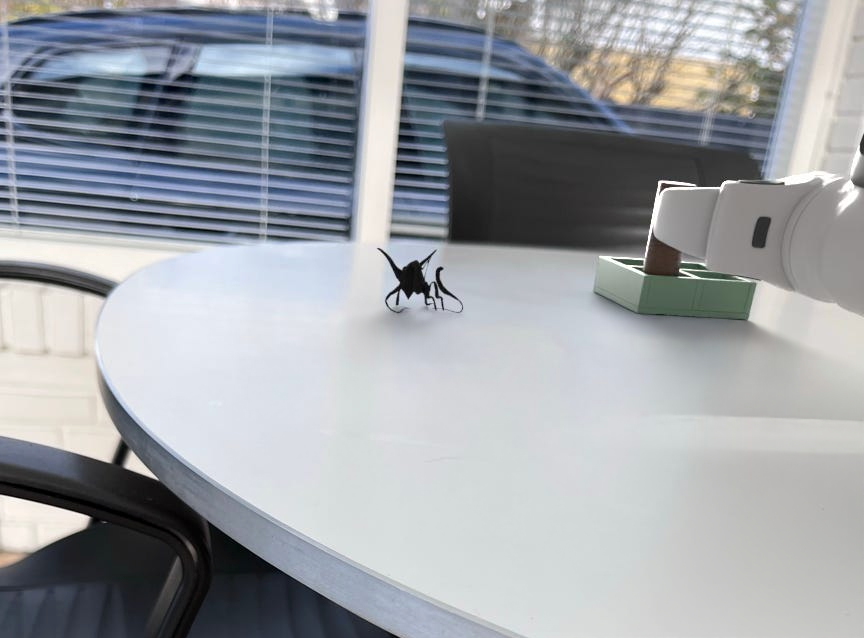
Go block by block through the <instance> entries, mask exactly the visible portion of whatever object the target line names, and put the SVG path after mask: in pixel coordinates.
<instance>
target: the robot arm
mask: <svg viewBox="0 0 864 638" xmlns="http://www.w3.org/2000/svg"><path fill="white" fill-rule="evenodd" d="M653 232H654V235H655V237H656V238H657V239H658V240H660V241H662V242H663V243H665V244H667V245H669V246H671V247H673V248H675V249H677V250H679V251H681V252H683V254H686V255H689V256H691V257H695V258H698V259H701V260H704V264H705V268H706V269H708V270H710V271H712V272H716V273H722V274H725V275H730V276H737V277H742V278H745V279H748V280H753V281H754V280H755V281H758V282H762V281H763V282H766V283H767V284H769V285H771V286H774V287H775V288H778V289H781V290H784V291H787V292H793V293H794V294H797V295H802V296H804V297H807V298H809V299H811V300H814V301H818V302H821V303H827V304H836V305H837V306H838V307H840V308H841V309H842V310H844V311H847V312H849V313H852V314H854V315H857V316H860V317H863V318H864V133H863V134H862V136H861V139H860V142H859V145H858V147H857V150H856V153H855V156H854V158H853V162H852V165H851V169H850V173H847V172H846V173H845V172H839V171H835V170H834V171H833V170H817V171H812V172H809V173H806V174H805V173H804V174H797V175H791V176H787V177H783V178H779V179H761V180H759V179H757V180H756V179H753V180H752V179H751V180H750V179H749V180H747V179H739V180H726V181H724V182H722V184H721V186H720V187H719V186H717V187H714V186H713V187H712V186H711V187H697V188H669V189H665V190H664V191H663V192H662V193H661V194H660V197H659V200H658V203H657V208H656V213H655V219H654V227H653Z"/></svg>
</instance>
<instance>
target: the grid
mask: <svg viewBox="0 0 864 638" xmlns="http://www.w3.org/2000/svg"><path fill="white" fill-rule="evenodd" d="M644 259H645V258H634V257H633V258H632V257H619V256H604V255H599V256H598V259H597V266H596V271H595V277H594V283H593V289H592V291H593V292H594V293H596V294H598V295H600V296H602V297H605V298H606V299H608V300H610V301H612V302H614V303H616V304H618V305H620V306H622V307H624V308H625V309H628V310H630V311H631V312H634V313H636V314H640V315H656V314H664V315H663V316H674V315H676V316H677V315H678V316H677V317H693V316H694V317H695V318H709V317H710V318H713V319H728V320H729V319H730V320H746V321H747V320H748V321H749V318H750V313H751V308H752V305H753V300H754V297H755V293H756V288H757V284H758V283H757V282H755V281H754V280H751V279H749V278H744V277H737V276H730V275H725V274H722V273H716V272H712V271H710V270H708V269H706V268H705V263H703V262H694V261H693V262H692V261H681V266H680V271H679V275H678V277H675V276H660V275H648V274H645V273H643V272H642V269H643V264H644ZM665 314H666V315H665Z"/></svg>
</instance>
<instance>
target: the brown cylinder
mask: <svg viewBox="0 0 864 638" xmlns="http://www.w3.org/2000/svg"><path fill="white" fill-rule="evenodd" d="M669 188H698V185H697V184H694V183H688V182H679V181H669V180H659V181H658V186H657V191H656V195H655V201H654V205H653V206H654V207H653V212H652V217H651V223H650V228H649V233H648V238H647V243H646V247H645V248H646V249H645V253H644V258H643V259H644V264H643V269H642V272H643V273H645V274H648V275H660V276H675V277H678V275H679V271H680V266H681V262H683V256H684V252H681V251H679V250H677V249H675V248H673V247H671V246H669V245H667V244H665V243H663V242H662V241H660V240H658V239H657V238H656V237H655V235H654V232H653V227H654V219H655V213H656V208H657V203H658V200H659V197H660V194H661V193H662V192H663V191H664V190H665V189H669Z"/></svg>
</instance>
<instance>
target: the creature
mask: <svg viewBox="0 0 864 638" xmlns="http://www.w3.org/2000/svg"><path fill="white" fill-rule="evenodd" d="M376 250H378V251H379V252H380V253H382V255H383V256H384V257H385V259H386V260H387V261H388V263H389V265H390V267H391V269H392V271H393V274H394V276H395V278H396V279H397V281H398V282H399V284H398V285H397V286H396V287H395V288H394V289H392V290H391V291H390V292H388V294H387V295H386V296H385V299H384V303H385V306H386V307H387V309H388V310H390V311H391V312H393V313H395V314H400V313H402V312H403V311H404V310H409V309H412V308H411V307H405V306H402V305H400V294H401V291H402V292H403V293H404V295H405V298H406V299H407V300H409V299H410V298H411V297H412V295H413V294H414V293H415V295H417V296H418V295H421V294H423V296H424V297H423V298H424V299H423V300H424V304H425V306H431V305H433V308H432V309H434V311H436V312H437V311H438V310H437V309H439V310H442V311H443V312H444V311H445V310H446V311H449V312H451V313H456V314H460V313H462V312H463V310H464V305H463V303H462V301H461V300H460V298H458V297H457V296H456V295H454V294H453V293H452V292H450V291H449V290H448V289H447V288H446V287H445V286H444V284H443V282H442V280H441V271H444V269H445V268H444V267H443V266H438V267H437V268H436V269H435V274H434V275H435V281H434V280H433V281H431V282H430V283H428V281H426V274H427V270H428V267H429V263H430V261H431V259H432V257H433V256H434V255H435V253H436V252H437V250H438V249H435V250H433V252H431V253H430V254H429V255H428V256H426V257H425V258H424V259H422V260H421V261H419V260H418V259H414V260H412V261H410V262H408V264H407V265H404V266H403V267H402V269H401V268H399V267H398V266H397V265H396V263H395V261H394V260H393V258H392V257H391V256H390V255H389V253H387V251H384V250H383V249H382V248H380V247H377V248H376ZM426 265H427V267H426ZM425 267H426V271H425V273H424V274H423V270H424V269H425ZM432 284H433V288H434V296H435V297H433V296H432V295H430V294H431V291H432V290H431V288H432ZM439 290H440V292H441V293H442V294H444V295H446V296H449V297H450V298H452V299H454V300H456V301H458V302H459V303H460V305H461V310H460V311H454V310H451V309H447V308H445V306H444V298H443V296H442V295H440V294H439ZM394 294H396V298H395V306H397V307H398V306H400V307H401V308H402V309H400V310H399V311H397V310H394V309H393V308H391V307H390V306H389V304H388V300H389V299H390V298H391V296H392V295H394ZM429 299H432V301H433V303H432V302H430V303H428V300H429ZM436 300H440V304H441V307H437V304H436Z"/></svg>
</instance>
